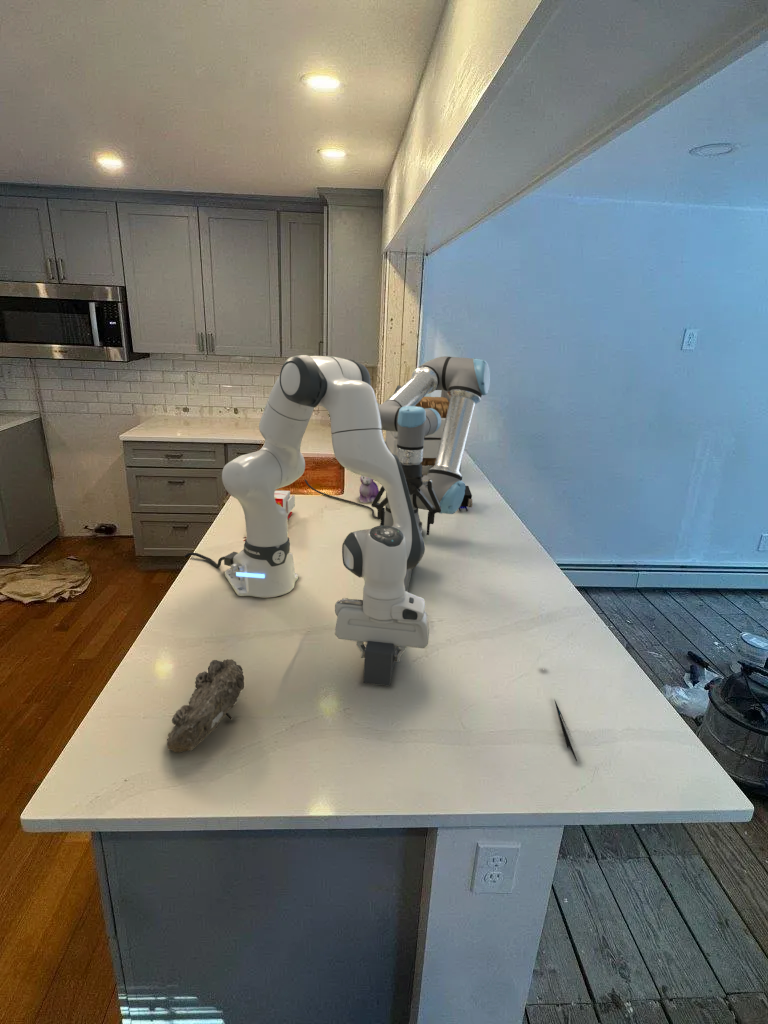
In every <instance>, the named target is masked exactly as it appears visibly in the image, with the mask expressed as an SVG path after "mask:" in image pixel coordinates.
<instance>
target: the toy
mask: <svg viewBox="0 0 768 1024" xmlns="http://www.w3.org/2000/svg"><path fill="white" fill-rule="evenodd" d="M274 496H275V501H276V503H277V504H278V505H280V506H282V507H283V508H284V509H285V510H286V512H287V515H288V520H289V519H290V518H291V516H292V514H293V511H292V510H293V509H294V508H295V507H296V497H295V494H293V495H291V491H290V490H278V489H276V490H275V492H274Z"/></svg>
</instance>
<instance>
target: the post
mask: <svg viewBox="0 0 768 1024" xmlns="http://www.w3.org/2000/svg"><path fill="white" fill-rule="evenodd" d="M412 572H413V569H407V571H406V576H405V578H404V586H405V591H407V592H409V588H410V584H411V578H412ZM365 647H366V648H365V657H364V658H363V684H369V685H379V686H386V687H390V686H391V681H392V676H393V671H394V666H395V661H393V654H394V651H398V646H396V645H394V644H392V643H382V642H373V641H367V642H366V645H365Z"/></svg>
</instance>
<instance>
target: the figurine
mask: <svg viewBox="0 0 768 1024" xmlns="http://www.w3.org/2000/svg"><path fill="white" fill-rule="evenodd" d="M359 480H360V483H361V484H360V486H359V490H358V491H359V496H358V500H359V503H365V504H369V503H373V501H374V499H375V497H376V496H377V494H378V492H379V491H380V488H379V486H378V484H377V483H376V481H375V480H373V479H371V478H368V477H365V476H361V475H360V478H359Z"/></svg>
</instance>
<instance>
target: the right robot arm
mask: <svg viewBox="0 0 768 1024" xmlns="http://www.w3.org/2000/svg"><path fill="white" fill-rule="evenodd" d="M400 386H401V387H400V388H399V389H398V390H397V391H396V392H395V391H394V392H395V393H394V392H393V394H392V395H390V396H389V397H388V398H387V399H386V400H385V401H384V402H383V403H381V404H380V403H378V407H379V412H380V418H381V425H382V431H385V432H386V431H394V432H398V434H397V451H396V456H397V457H398V459H399V461H400V463H401V466H402V469H403V472H404V475H405V479H406V483H407V487H408V491H409V494H410V498H411V502H412V506H413V510H414V514H415V518H416V521H417V524H418V527H419V529H420V532H421V534H422V535H423V522H422V521H421V518H420V515H419V510H423V511H427V522H426V535H425V536H430V532H431V531H430V530H431V525H434V523H435V515H436V514H441V515H442V514H444V515H445V514H446V515H453V514H455V513H456V512H457V511H459V509H458V508H459V507H460V505H461V503H462V501H463V498H464V494H465V486H466V483H465V482H464V481H463V475H462V473H461V474H460V472H459V470H460V466H461V467H462V462H461V461H463V457H464V452H465V448H466V444H467V441H468V435H469V433H470V427H471V424H472V419H473V415H474V409H475V406H476V405H477V404H478V403H480V402H481V400H482V396H486V395H488V394H489V392H490V387H491V370H490V366H489V363H488V361H486V360H485V359H480V358H475V357H474V358H472V357H471V358H470V357H458V356H448V355H447V356H438V357H435V358H432V359H430V360H428V361H425V362H424V363H422V364H421V365H420V366H418V367H417V368H416V369H414V371H413V372H412V375H411V377H410V378H409V379H408V380H407V381H406V382H405V383H403V384H402V385H400ZM442 390H445V391H448V392H447V395H448V396H449V398H450V403H449V407H448V411H447V415H446V420H445V424H444V428H443V432H442V436H441V440H440V445H439V449H438V453H437V457H436V461H435V465H434V466H431V467H430V468H428V471H427V474H423V466H422V464H421V462H422V461H423V445H424V437H425V436H428V435H430V434H433V433H434V432H435V431H437V430H438V429H439V427H440V425H441V416H440V414H439V413H438V412H437V411H436V410H435V409H432V408H425V409H424V408H422V407H417V406H415V405H416V404H417V403H418V402H419V401H420V400H421V399H422V398H423V397H426V396H427V395H428V394H431V393H434V392H435V391H442ZM304 483H305V484H306V485H307V486H308V487H309V489H311V490H313V491H314V492H315V493H318V494H320V495H323V496H325V497H328V498H331V499H334V500H338V501H342V502H345V503H349V504H353V505H356V506H359V507H363V508H365V509H368V510H370V511H371V516H372V517H373V519H377V520H380V522H379V526H381V525H386V526H393V524H394V521H393V517H392V513H391V509H390V505H389V501H388V497H387V493H386V491H385V489H384V487H383V486H382V485H381V487H380V488H379V492H378V494H377V496H376V497H375V499H374V501H373V502H371V507H370V506H368V505H365V504H362V503H360V502H359V503H358V502H355V501H351V500H348V499H344V498H341V497H338V496H334V495H331V494H327V493H324V492H322V491H320V490H317V489H316V488H314V487H313V486H312V485H311V484H309V482H308V480H307V479H304ZM384 492H385V498H384V499H382V500H381V501H380V499H381V498H382V496H383V494H384ZM379 501H380V502H379ZM373 508H375V509H376V510H377V513H376V515H377V516H376V515H375V510H374V509H373Z"/></svg>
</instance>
